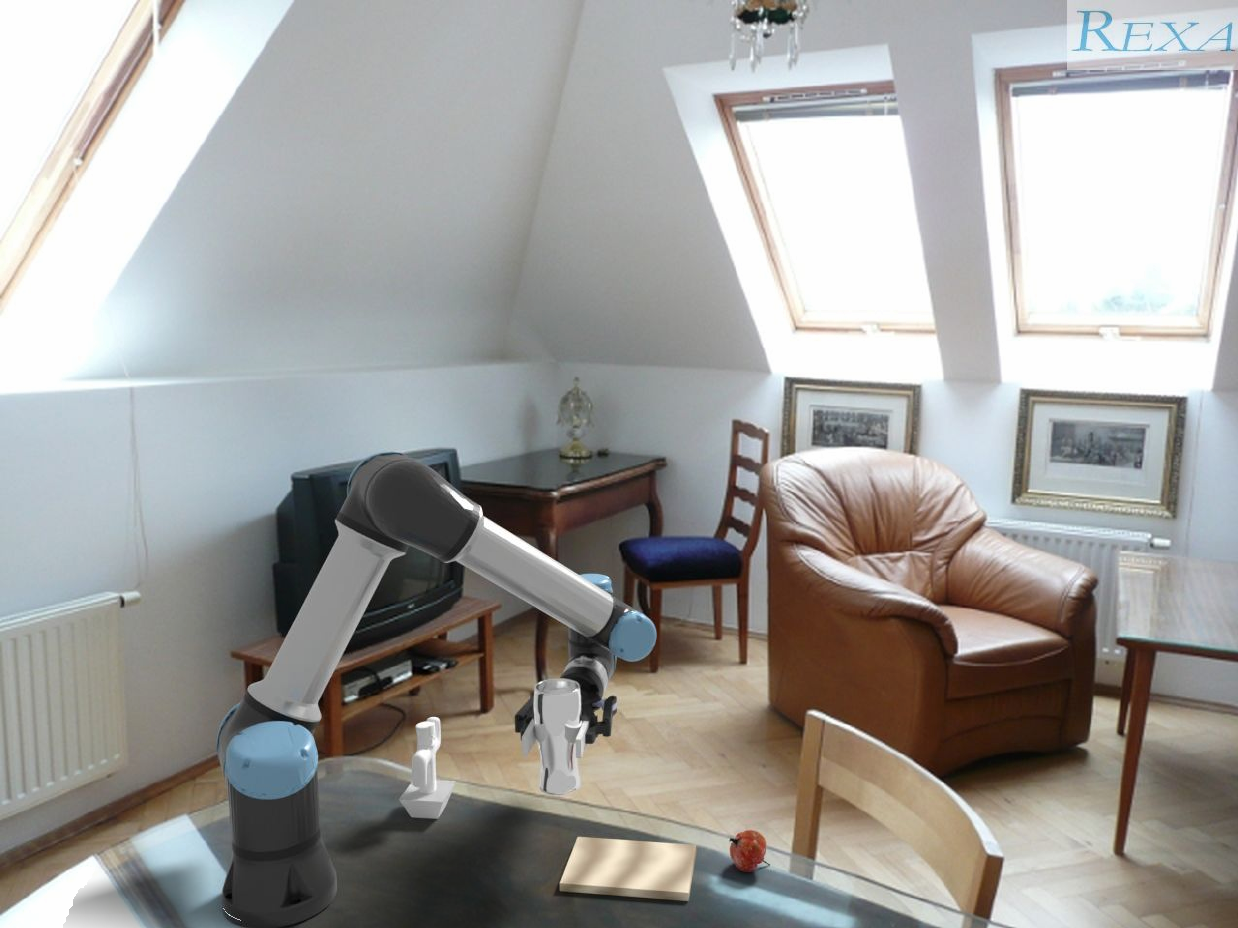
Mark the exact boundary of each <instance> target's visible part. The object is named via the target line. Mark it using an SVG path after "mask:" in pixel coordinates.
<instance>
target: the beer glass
mask: <svg viewBox="0 0 1238 928" xmlns="http://www.w3.org/2000/svg"><path fill="white" fill-rule="evenodd" d="M533 689H534V705H533V717H534V728H535V734H536V742H537V743H536V744H537V747H538V753H539V759H540V772H539V779H538V788H539V790H540V791H541V792H543V793H544V794H546V795H551V796H565V795H569V794H572V793H573V794H574V792H575V793H576V791H578V790H579V789H580V788H581V786H582V780H581V777H580V773H579V772H580V771H579V764H578V762H579V760H578V759H579V758H576V737H577V735H578V733H579V731H580V728H581V726H582V724H583V722H582V701H581V692H580V684H579V683H578V682H576V681H574V680H571V679H564V678H560V677H559V678H558V677H557V678H548V679H544V680H540V681H538V682H537V683H536V684H534V687H533Z"/></svg>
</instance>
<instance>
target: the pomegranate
mask: <svg viewBox="0 0 1238 928" xmlns="http://www.w3.org/2000/svg"><path fill="white" fill-rule="evenodd" d="M728 841H729V843H730V842H731V843H730V847H729V855H730V858H731V860H732V862H733V863H734V865H735V867H736V868H737V869H738V870H740V871H741V872H744V873H752V872H754V871H755V872H756V870H757V867H758V865H760V864H762V863H764V864H766V865H768V866H770V865H771V864H770V863H769V862H767V861H766V860H765V855H766V852H767V841H766V838H765V837H764V835H763V834H762V833H760V832H758V831H756V830H752V829H750V830H749V829H748V830H744V831H741V832H739V833H737V834H736V835H735V838H732V837H730V838H729V840H728Z"/></svg>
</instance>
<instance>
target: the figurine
mask: <svg viewBox="0 0 1238 928" xmlns="http://www.w3.org/2000/svg"><path fill="white" fill-rule="evenodd" d="M415 731H416V736H417V740H416V741H417V749H416V752H415V753H414V754H413V756H412V759H411V763H410V765H411V782H410V784H409V785H408V787H407V788H406V789H405V791H404V792H403V793H402V795H400V798H399V799H398V800H399V802H400V803H401V805H402V806H403V808H405V810H406V812H407V813H408V814H409V816H410V817H411V818H417V819H418V818H419V819H435V820H437V819H439V818H440V816H441V815H442V813H443V811H444V809H445V808H446V806H447V804H448V801H449V800H450V797H451V795H452V793H453V791H454V787H455V785H456V781H455V780H453V781H452V780H437V770H436V769H437V768H436V767H437V766H436V764H437V762H436V755H437V752H438V750H439V749H440V747H441V742H442V731H441V720H440V718H439V717H436V716H431V717H428V718H427V719H426V721H421V722H419V723H417V724H416V725H415Z"/></svg>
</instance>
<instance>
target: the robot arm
mask: <svg viewBox="0 0 1238 928" xmlns="http://www.w3.org/2000/svg"><path fill="white" fill-rule="evenodd" d="M346 495H347V496H346V499H344V503H343V505H342V506H341V507H340V508H341V509H340V510H339V512H338V513H337V516H336V518H335V520H334V523H335V526H336V529H337V531H338V536H337V538H336V540H335V542H334V543H333V546H332V547H331V550H330V551H329V554H328V555H327V557H326V560H325V562H324V563H323V565H322V567H321V569H320V571H319V573H318V574H317V576H316V578H315V580H314V582H313V584H312V586H311V588H310V589H309V592H308V594H307V596H306V598H305V600H304V602H303V604H302V606H301V608H300V609H299V612H298V613H297V615H296V616H295V620H294V621H293V623H292V625H291V627H290V629H289V630H288V633H287V634H286V636H285V638H284V640H283V642H282V644H281V646H280V648H279V650H278V651H277V654H276V656H275V657H274V660H273V661H272V662H271V663H272V664H271V665H270V667H269V669H268V671H267V673H266V675H265V677H264V678H263V679H261V680H260V681H257V682H253V683H251V684H250V685H248V687H247V689H246V690H245V692H244V695H243V696H242V698H241V700H240V702H239V703H237V704H236V705H234V706H233V707H232V708H231V709H230V710H229V711H227V713H226V715H225V716H224V717H223V719H222V721H221V723H220V725H219V728H218V732H217V735H216V736H217V737H216V741H215V743H216V754H217V760H218V761H219V764H220V767H221V768H220V769H221V773H222V775H223V776H222V777H223V779H224V782H225V783H224V784H225V787H226V792H227V798H228V807H229V820H230V821H229V822H230V834H231V836H230V837H231V846H232V847H231V853H232V854H231V856H230V862H229V864H228V869H227V872H226V875H225V879H224V882H223V886H222V890H221V906H222V905H223V906H222V913H223V916H224V918H225V919H227V920H228V921H229V922H230V923H231V924H234V925H236V926H240V927H242V928H283V927H286V926H291V925H295V924H298V923H301V922H303V921H305V920H308V919H310V918H312V917H314V916H316V915H317V914H319V913H320V912H322V911H324V910H325V909H326V908H327V907H328V906H329V905H330V904H331V903H332V902H333V901H334V899H335V898H336V895H337V893H338V884H337V883H338V881H337V880H338V879H337V872H336V868H335V866H334V863H333V862H332V860H331V858H330V855H329V852H328V850H327V848H326V845H325V843H324V841H323V838H322V832H321V831H322V829H321V813H320V812H321V811H320V809H321V808H320V793H319V778H318V776H319V775H318V765H319V764H318V763H319V755H318V753H319V752H318V749H317V745H316V742H315V738H314V736H313V735H314V733H315V732H316V729H317V727H318V726H319V723H320V721H321V719H322V713H321V711H320V707H319V700H320V699H321V697H322V695H323V694H324V691H325V689H326V687H327V685H328V683H329V682H330V679H331V678H332V676H333V673H334V672H335V670H336V668H337V666H338V664H339V662H340V660H341V658H342V656H343V655H344V653H345V651H346V648H347V646H348V644H349V642H350V641H351V639H352V637H353V636H354V633H355V631H356V628H357V627H358V625H359V623H360V621H361V619H362V617H363V615H364V613H365V612H366V609H367V608H368V605H369V603H370V601H371V600H372V598H373V596H374V594H375V592H376V590H377V588H378V586H379V584H380V582H381V580H382V578H383V576H384V575H385V573H386V570H388V567H389V565H390V562H392V560H394V559H396V558H399V557H401V556H405V555H406V554H407V551H408V549H409V548H410V547H413V548H415V549H417V550H419V551H422V552H424V553H425V554H426V553H427V554H428V555H430V556H433V557H434V558H436V559H437V560H439V561H441V562H443V563H444V564H445V563H446V564H449V563H452V562H457V563H459V564H460V565H462V566H464V567H465V568H467V569H469V570H471V571H473V572H475V573H476V574H478V575H480V576H481V577H482V578H484V579H487V580H488V581H490V582H491V583H492V584H493V583H494V584H495V585H497V586H498V587H500V588H501V589H504V590H505V591H507V592H508V593H510V594H512V595H513V596H515V597H516V598H519V599H520V600H523V601H524V602H525V603H528V604H529V605H531V606H533V607H534V608H536V609H538V610H539V611H541V612H543V613H545V614H546V615H548V616H550V617H552V618H553V619H555V620H557V621H558V622H560V623H561V624H563V625H565V626H567V629H568V631H567V632H568V636H567V637H568V641H567V645H568V662H567V663H566V666H565V668H564V670H563V671H562V673H561V675H560V677H559V678H564V679H571V680H574V681H576V682H578V683H579V684H580V692H581V701H582V726H581V728H580V731H579V733H578V735H577V737H576V758H578V759H582V758H583V756H584V753H585V751H586V748H587V746H588V745H593V744H595V741H596V739H597V738H598V737H599V735H602V736H603V737H605V738H606V737H607V738H609V737H611V736H612V729H613V727H612V725H613V717H614V716H615V715H616V714H617V713H618V697H617V696H616V695H610V696H608V697H607V698H606V697H604V694H605V692H606V690H607V687H608V684H609V682H610V680H611V678H612V677H613V675H614V672H615V670H616V666H617V658H618V659H622V660H624V661H626V662H630V663H631V662H638V661H641V660H643V659H644V658H646V657H647V656H648V655H650V653H651V652H652V651H653V649H654V646H655V644H656V642H657V641H656V640H657V628H656V626H655V624H654V622H653V621H652V620H651V619H650V618H649V617H648V616H647V615H646V614H644V613H643V612H641V611H640V610H639V611H638V610H636V609H634V608H633V607H632V606H631V605H630V606H629V605H628V604H626V603H625V602H623V601H622V600H619V599H618V598H617V597H615V596H613V594H614V590H613V585H612V580H611V578H610V577H609V576H607V575H604V574H600V573H583V574H578V573H576V572H574V571H573V570H572V569H570V568H568V567H566V566H565V565H564V564H562V563H560V562H559V561H557V560H555V559H554V558H552V557H550V556H549V555H548V554H545V553H544V552H542V551H541V550H539V549H538V548H535V547H534V546H533V545H531V544H529V543H528V542H526V541H525V540H523V539H522V538H520V537H518V536H517V535H515V534H513V533H511V532H510V531H509V530H507V529H505V528H504V527H502V526H500V525H499V524H498V523H496V522H494V521H492V520H491V519H489V518H487V517H486V516H484V514H483V509H482V506H481V505H479V504H478V503H477V502H475V501H473V500H472V499H470V498H469V497H468V496H466V495H464V494H463V493H462V492H461V491H459V490H458V489H457V488H456V487H455V486H453V485H452V484H451V483H449V482H448V481H447V480H446V479H445V478H444V477H443V476H442V475H440V474H439V473H438V472H437V471H436V470H434V469H433V468H432V467H430V466H428V465H427V464H425V463H422V462H421V461H419V460H416V459H415V458H413V457H412V456H410V455H408V454H405V453H403V452H398V451H397V452H395V451H380V452H378V453H376V452H375V453H373V454H371V455H369V456H367V457H365V458H364V459H362V460H361V461H360V462H359V463H358V464H357V465H356V466H355V467H354V468H353V470H352V472H351V473H350V476H349V479H348V482H347V488H346ZM529 695H530V697H529V699H528V700H527V701H526V702H525V703H524V704H523V706H521V708H520V709H519V710H518V711H517V712H516V713H515V715H514V732H515V733H517V734H520V741H521V749H522V750H521V751H522V756H524V757H525V756H526V757H528V756H529V755H530V752H531V750H532V749H533V746H534V745H535V744H536V742H537V739H536V734H535V728H534V717H533V705H534V692H531V693H530V694H529ZM603 697H604V698H603ZM600 709H601V710H602V718H601V721H598V718H599V717H598V715H596V714H595V712H596V711H598V710H600ZM223 908H224V909H225V910H224V909H223ZM225 911H226V912H227V913H228V914H230V915H231V916H233V917H235V918H237V919H240V920H241V921H240V920H237V919H235V918H233V917H231V916H229V915H228V914H227V913H226V912H225Z"/></svg>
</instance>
